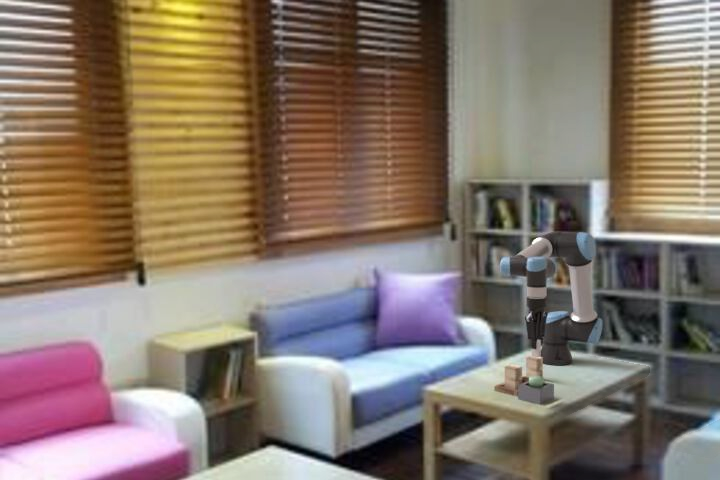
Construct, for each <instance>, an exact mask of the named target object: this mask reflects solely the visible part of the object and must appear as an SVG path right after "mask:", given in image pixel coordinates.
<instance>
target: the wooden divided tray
mask: <svg viewBox="0 0 720 480" xmlns="http://www.w3.org/2000/svg"><path fill="white" fill-rule="evenodd" d="M527 381H529V377H526V375H522V383H524V382H527ZM543 382H545V380H544V379H543ZM493 390H494V392H498V393H502V394H506V395H511V396H513V397H514V396H515V397H518V389H517V390H514V389H509V388H505V381H503V382H501V383H499V384H496V385H494V389H493Z"/></svg>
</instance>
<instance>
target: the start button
mask: <svg viewBox="0 0 720 480" xmlns="http://www.w3.org/2000/svg"><path fill="white" fill-rule="evenodd" d="M543 380H544V376H543V377H541V376H530V377H529V386H532V387H542V386H543Z"/></svg>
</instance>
